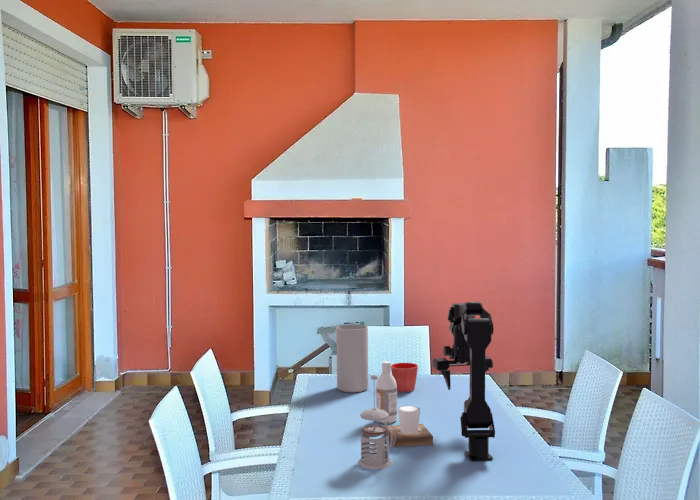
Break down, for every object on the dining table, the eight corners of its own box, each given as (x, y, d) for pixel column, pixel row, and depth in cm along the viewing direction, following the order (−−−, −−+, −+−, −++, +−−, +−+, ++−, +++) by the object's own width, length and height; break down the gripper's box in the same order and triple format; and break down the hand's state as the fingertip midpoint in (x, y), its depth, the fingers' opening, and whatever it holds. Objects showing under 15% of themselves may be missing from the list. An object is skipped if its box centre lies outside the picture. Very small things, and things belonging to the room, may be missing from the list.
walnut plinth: (433, 444, 200) (433, 435, 199) (394, 447, 198) (394, 438, 198) (422, 431, 211) (422, 423, 211) (386, 433, 210) (386, 425, 209)
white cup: (419, 434, 200) (419, 412, 200) (396, 433, 202) (396, 411, 201) (421, 427, 207) (421, 405, 207) (399, 426, 208) (399, 404, 208)
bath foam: (373, 418, 225) (373, 360, 224) (392, 416, 227) (392, 359, 226) (380, 424, 219) (380, 365, 217) (400, 422, 221) (399, 363, 219)
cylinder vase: (332, 391, 259) (332, 328, 258) (342, 383, 271) (341, 323, 270) (363, 394, 256) (362, 330, 254) (371, 385, 268) (371, 324, 266)
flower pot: (386, 388, 264) (385, 364, 264) (409, 384, 269) (409, 361, 268) (398, 394, 255) (398, 369, 254) (423, 391, 259) (423, 366, 259)
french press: (371, 453, 193) (370, 369, 191) (404, 462, 185) (403, 374, 184) (350, 463, 185) (349, 375, 184) (383, 473, 178) (382, 382, 176)
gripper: (481, 335, 223) (481, 381, 224) (428, 338, 220) (428, 384, 221) (493, 342, 212) (493, 390, 213) (437, 344, 209) (437, 393, 210)
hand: (462, 389), depth 215 cm, fingers open, 9 cm apart
